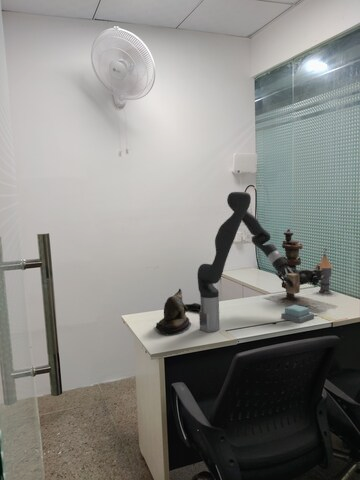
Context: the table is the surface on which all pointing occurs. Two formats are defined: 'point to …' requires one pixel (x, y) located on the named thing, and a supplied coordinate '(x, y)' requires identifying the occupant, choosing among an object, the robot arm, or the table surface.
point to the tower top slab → (297, 310)
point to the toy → (193, 306)
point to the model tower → (325, 274)
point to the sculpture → (174, 316)
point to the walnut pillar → (295, 281)
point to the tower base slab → (298, 319)
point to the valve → (304, 276)
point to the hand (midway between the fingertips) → (295, 285)
